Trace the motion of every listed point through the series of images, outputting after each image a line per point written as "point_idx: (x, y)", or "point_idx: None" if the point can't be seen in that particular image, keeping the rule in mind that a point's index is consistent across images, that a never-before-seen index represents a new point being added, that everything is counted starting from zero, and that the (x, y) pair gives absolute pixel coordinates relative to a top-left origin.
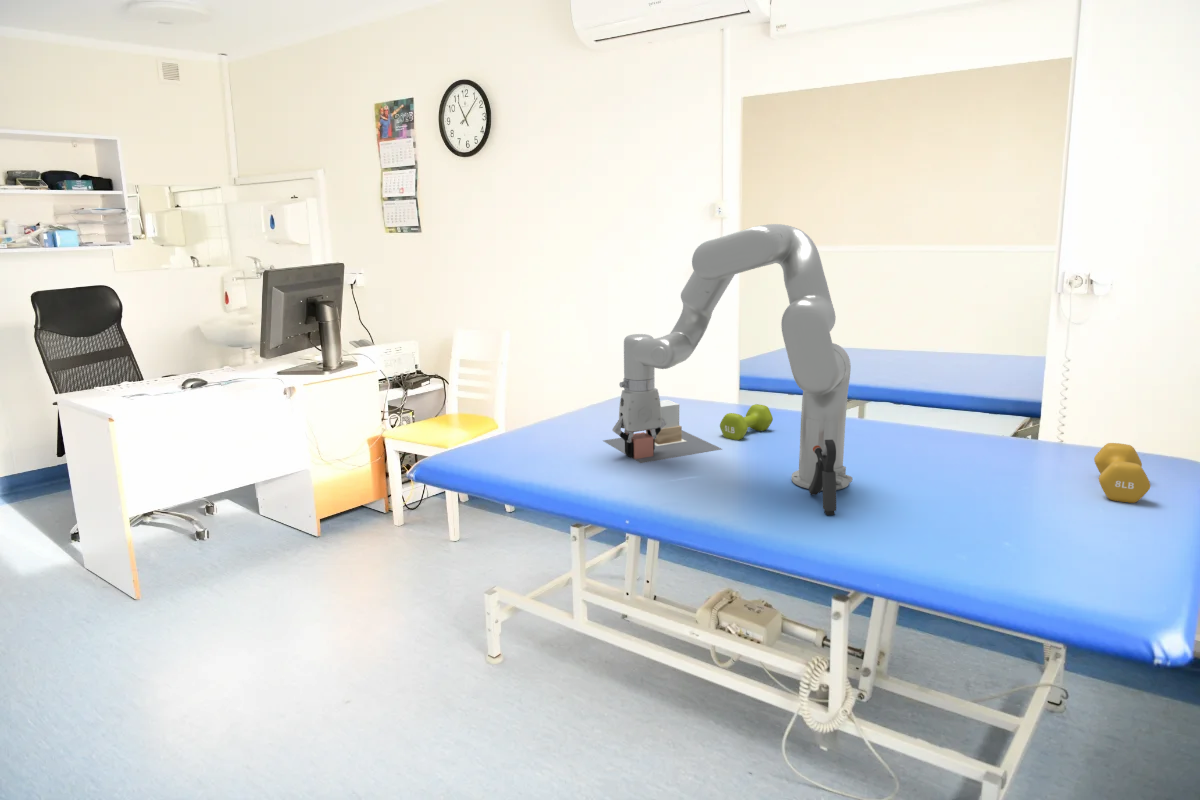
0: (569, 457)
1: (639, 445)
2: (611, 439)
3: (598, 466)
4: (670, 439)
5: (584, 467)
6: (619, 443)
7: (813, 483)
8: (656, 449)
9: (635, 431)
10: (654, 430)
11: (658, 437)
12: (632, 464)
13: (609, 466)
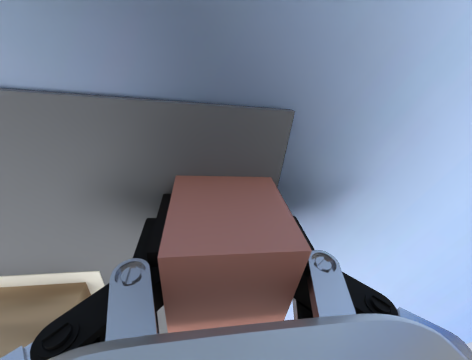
0: (390, 274)
1: (268, 218)
2: None
3: (415, 181)
4: (10, 299)
5: (448, 193)
6: None
7: None
8: (119, 241)
9: (353, 317)
10: (113, 328)
11: None
12: (313, 137)
13: (393, 162)
